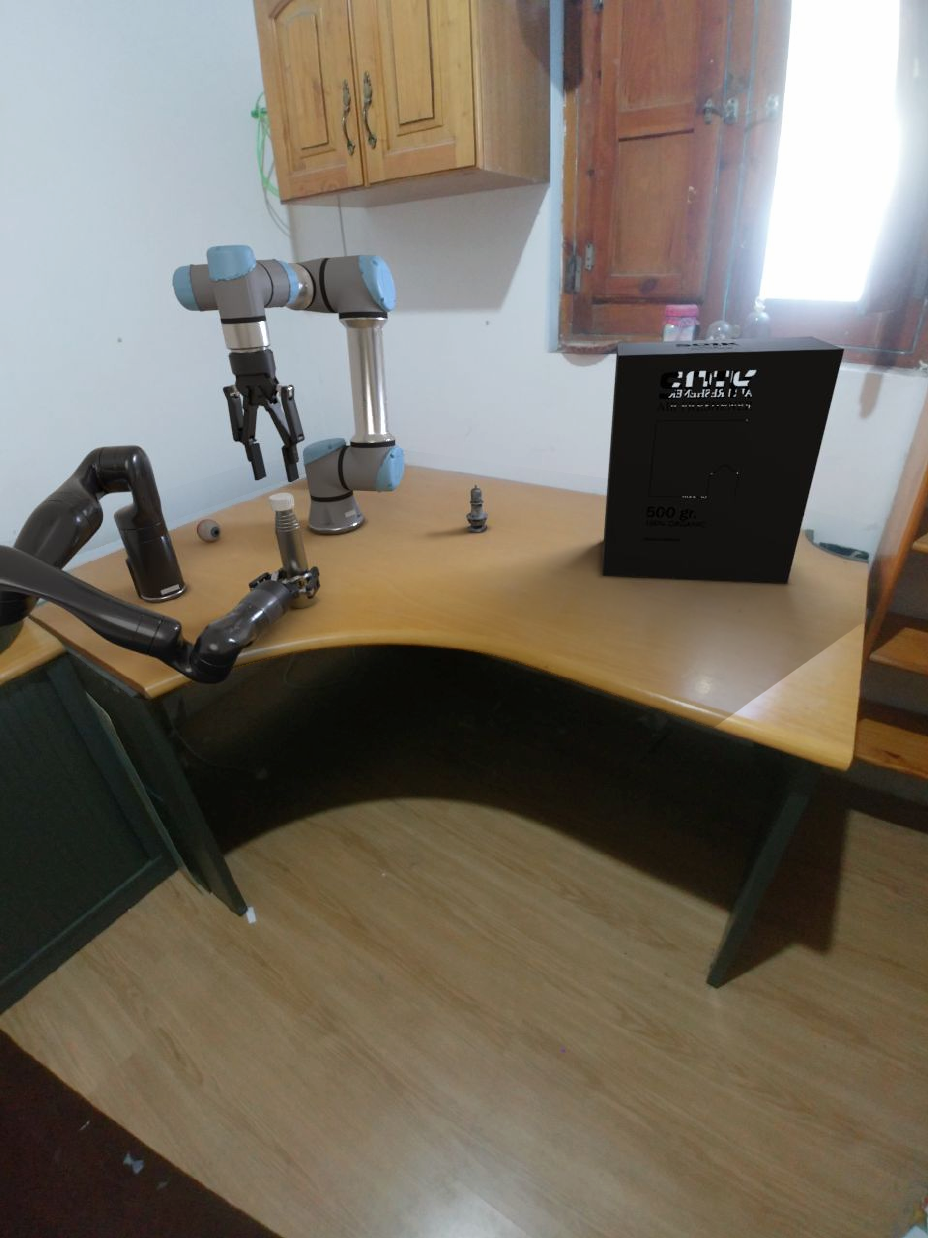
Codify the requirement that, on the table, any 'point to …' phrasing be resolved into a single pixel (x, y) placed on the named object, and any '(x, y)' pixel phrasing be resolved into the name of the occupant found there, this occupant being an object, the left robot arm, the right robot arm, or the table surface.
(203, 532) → the eyeball
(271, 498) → the cap
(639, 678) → the table surface
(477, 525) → the grey upright piece
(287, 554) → the bottle
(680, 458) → the black rectangular box
